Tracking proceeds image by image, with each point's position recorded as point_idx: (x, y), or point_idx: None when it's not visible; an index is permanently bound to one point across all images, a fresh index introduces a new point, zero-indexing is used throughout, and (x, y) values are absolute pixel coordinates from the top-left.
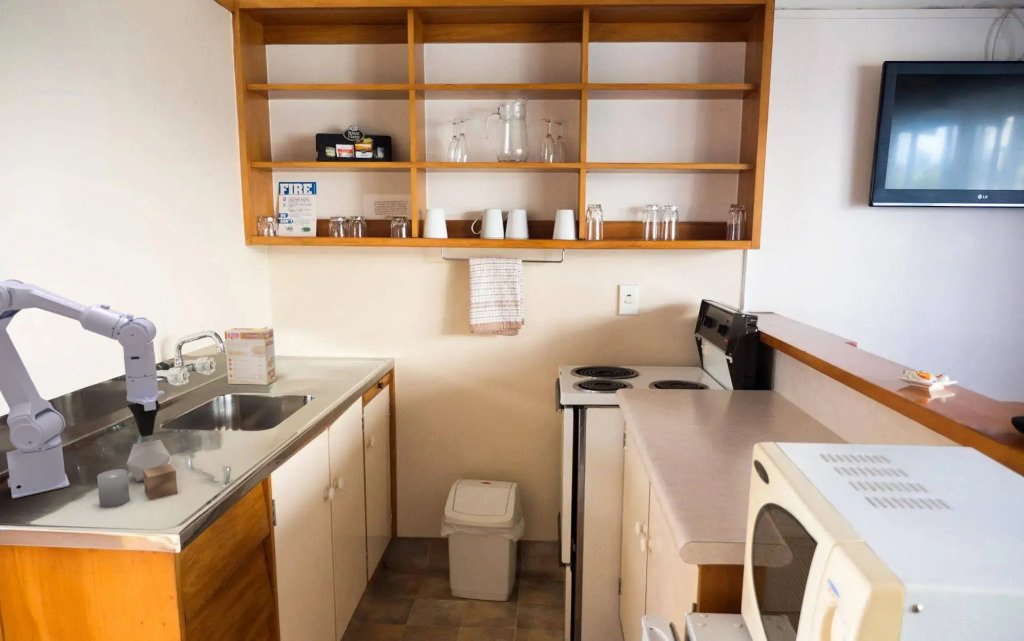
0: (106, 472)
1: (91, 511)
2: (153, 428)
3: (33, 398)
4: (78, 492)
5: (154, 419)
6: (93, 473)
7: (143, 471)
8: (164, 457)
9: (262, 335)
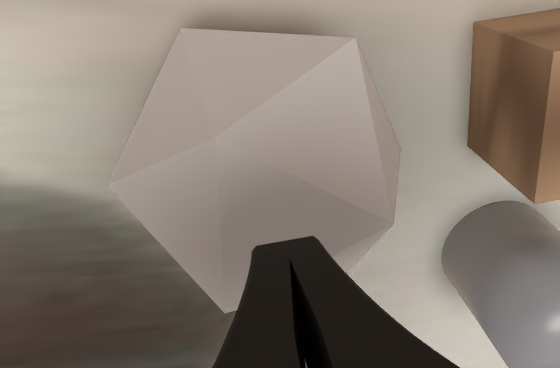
0: (530, 364)
1: None
2: (335, 264)
3: None
4: None
5: (410, 335)
6: (60, 347)
7: (545, 198)
8: (367, 80)
9: None
